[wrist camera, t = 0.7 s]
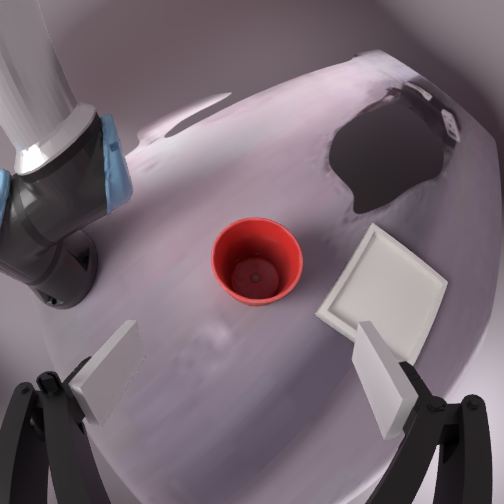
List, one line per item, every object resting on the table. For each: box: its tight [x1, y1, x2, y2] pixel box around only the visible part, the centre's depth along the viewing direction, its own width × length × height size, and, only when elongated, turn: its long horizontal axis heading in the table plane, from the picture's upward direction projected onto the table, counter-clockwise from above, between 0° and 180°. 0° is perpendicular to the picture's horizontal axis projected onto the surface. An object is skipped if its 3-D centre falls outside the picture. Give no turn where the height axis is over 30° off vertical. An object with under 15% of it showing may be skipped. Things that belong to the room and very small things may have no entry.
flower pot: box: [211, 218, 303, 306], centre depth 36 cm, size 11×11×10 cm
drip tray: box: [314, 223, 448, 366], centre depth 38 cm, size 18×18×2 cm
